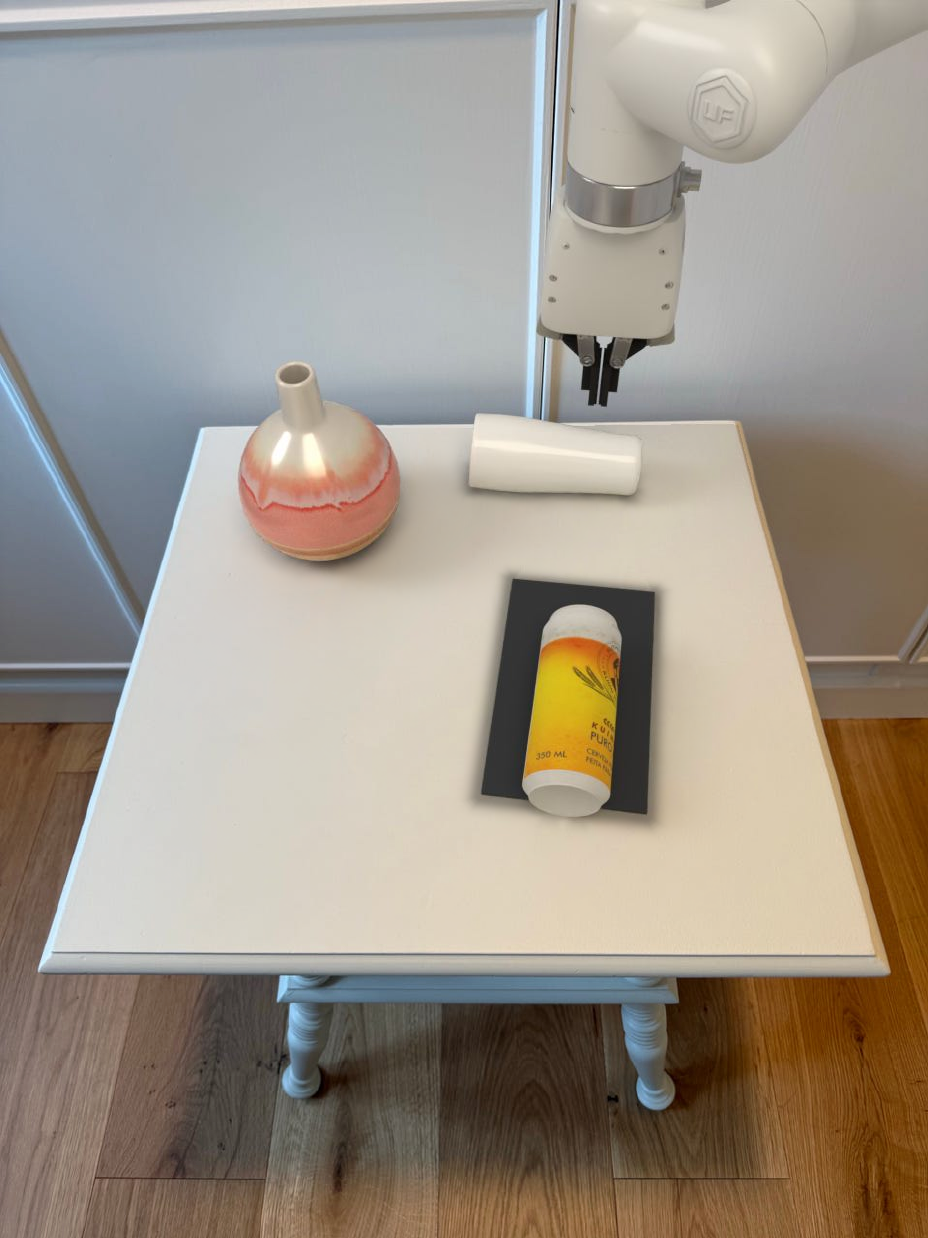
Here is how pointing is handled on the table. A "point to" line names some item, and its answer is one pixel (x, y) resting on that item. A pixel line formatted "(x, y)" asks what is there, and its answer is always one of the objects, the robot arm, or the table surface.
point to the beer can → (574, 713)
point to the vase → (317, 473)
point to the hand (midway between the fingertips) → (598, 394)
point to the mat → (519, 677)
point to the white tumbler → (551, 457)
